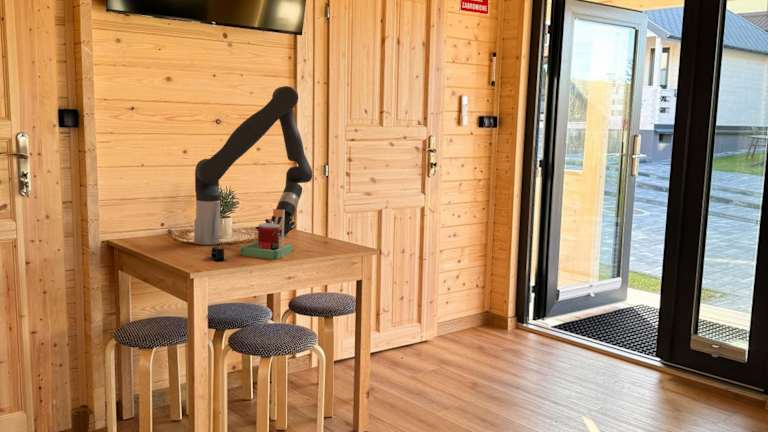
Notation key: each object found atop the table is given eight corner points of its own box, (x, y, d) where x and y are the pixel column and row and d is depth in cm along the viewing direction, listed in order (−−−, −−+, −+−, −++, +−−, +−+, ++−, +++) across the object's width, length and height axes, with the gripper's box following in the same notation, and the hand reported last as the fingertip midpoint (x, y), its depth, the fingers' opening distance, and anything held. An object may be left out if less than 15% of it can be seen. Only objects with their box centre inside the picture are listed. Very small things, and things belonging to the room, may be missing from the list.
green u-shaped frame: (240, 255, 264) (241, 207, 262) (257, 248, 278) (258, 202, 275) (279, 259, 260) (281, 211, 257) (295, 252, 274) (297, 206, 271)
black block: (200, 257, 259) (201, 245, 258) (219, 255, 264) (219, 243, 263) (216, 264, 250) (216, 252, 249) (235, 262, 254) (235, 250, 254)
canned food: (274, 256, 266) (275, 227, 264) (254, 254, 267) (255, 225, 266) (281, 252, 273) (282, 224, 271) (262, 250, 275) (262, 222, 273)
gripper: (269, 198, 282) (254, 234, 273) (300, 201, 279) (286, 237, 269) (274, 210, 288) (260, 245, 278) (305, 213, 285) (291, 248, 275)
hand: (273, 241), depth 274 cm, fingers closed
